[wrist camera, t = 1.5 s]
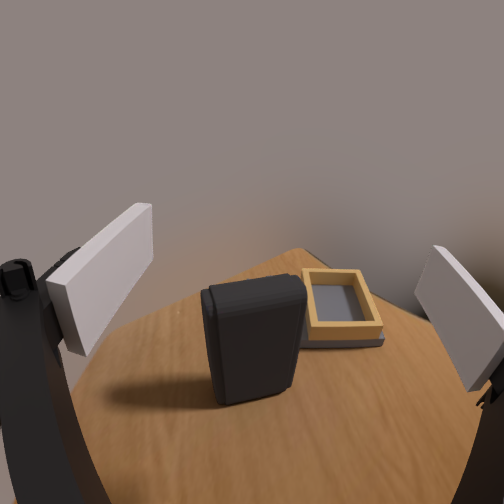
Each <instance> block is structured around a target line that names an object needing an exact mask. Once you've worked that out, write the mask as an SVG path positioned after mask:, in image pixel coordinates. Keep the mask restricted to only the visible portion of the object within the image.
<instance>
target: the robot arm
mask: <svg viewBox="0 0 504 504" xmlns="http://www.w3.org/2000/svg"><path fill="white" fill-rule="evenodd" d="M152 260H153V240H152V204H146V203H135V204H134V205H133V206H131V207H130V208H129V209H127V210H126V211H125V212H124V213H122V214H121V215H120V216H119V217H117V218H116V219H115V220H114V221H112V222H111V223H110V224H109V225H107V226H106V227H105V228H104V229H102V230H101V231H100V232H99V233H98V234H96V235H95V236H94V237H93V238H92V239H90V240H89V241H88V242H87V243H86V244H85V245H83V247H78V248H76V249H74V250H72V251H70V252H68V253H67V254H66V255H64V256H63V257H62V258H61V259H60V261H58V262H56V263H55V264H54V266H53V267H51V268H50V269H49V270H48V271H47V272H45V273H44V274H43V275H42V276H41V277H40V278H39V279H38V280H37V281H36V280H35V276H34V272H33V269H32V265H31V262H30V261H28V260H27V259H14V260H11V261H8V262H6V263H4V264H2V265H1V266H0V295H1V296H0V427H1V428H2V435H3V442H4V448H5V454H6V459H7V464H8V469H9V473H10V478H11V481H12V486H13V489H14V493H15V497H16V500H17V503H18V504H111V502H110V500H109V498H108V496H107V494H106V491H105V489H104V487H103V485H102V483H101V481H100V478H99V476H98V474H97V471H96V469H95V467H94V464H93V462H92V459H91V457H90V454H89V451H88V449H87V446H86V443H85V441H84V438H83V435H82V432H81V429H80V426H79V423H78V420H77V417H76V413H75V410H74V407H73V403H72V400H71V396H70V392H69V388H68V385H67V380H66V376H65V372H64V368H63V363H62V358H61V353H60V350H59V348H58V344H59V343H60V342H61V340H62V339H64V341H65V344H66V346H67V349H68V351H70V352H73V353H76V354H79V355H82V356H85V357H87V356H88V354H89V352H90V351H91V349H92V348H93V346H94V345H95V343H96V341H97V340H98V338H99V337H100V335H101V334H102V332H103V331H104V329H105V327H106V326H107V325H108V323H109V321H110V320H111V319H112V317H113V315H114V314H115V313H116V311H117V310H118V308H119V306H120V305H121V304H122V302H123V301H124V299H125V298H126V296H127V295H128V293H129V292H130V291H131V289H132V288H133V286H134V285H135V284H136V282H137V281H138V279H139V278H140V277H141V275H142V274H143V272H144V271H145V270H146V268H147V267H148V265H149V264H150V262H151V261H152ZM414 294H415V295H416V297H417V299H418V300H419V302H420V304H421V305H422V307H423V309H424V311H425V312H426V314H427V316H428V317H429V319H430V321H431V323H432V325H433V326H434V328H435V330H436V332H437V334H438V335H439V337H440V339H441V341H442V343H443V345H444V347H445V348H446V350H447V352H448V354H449V356H450V358H451V360H452V362H453V364H454V366H455V368H456V370H457V372H458V374H459V376H460V378H461V380H462V383H463V385H464V387H465V389H466V391H467V392H472V391H478V390H480V389H481V388H482V387H483V386H484V384H485V383H486V382H487V381H488V379H489V380H490V382H491V383H492V385H491V386H490V387H489V389H488V390H487V391H486V392H485V394H484V395H483V396H482V397H481V398H480V399H479V401H478V402H477V404H476V406H478V405H479V404H480V403H481V402H484V404H483V405H482V406H481V408H482V409H483V411H482V415H481V419H480V423H479V427H478V430H477V434H476V437H475V441H474V444H473V447H472V450H471V453H470V456H469V459H468V462H467V465H466V468H465V471H464V473H463V476H462V479H461V481H460V484H459V486H458V488H457V491H456V493H455V495H454V498H453V500H452V502H451V504H504V314H503V313H502V312H501V310H500V309H499V308H498V307H497V306H496V304H495V303H494V302H493V301H492V299H491V298H490V297H489V296H488V295H487V293H486V292H485V291H484V290H483V289H482V288H481V286H480V285H479V284H478V283H477V282H476V281H475V280H474V278H473V277H472V276H471V275H470V274H469V273H468V272H467V271H466V270H465V268H464V267H463V266H462V265H461V264H460V263H459V262H458V261H457V260H456V259H455V258H454V257H453V256H452V255H451V254H450V253H449V252H448V251H447V250H446V249H445V248H444V247H440V246H435V245H432V248H431V251H430V254H429V257H428V259H427V262H426V264H425V267H424V270H423V272H422V275H421V277H420V280H419V282H418V285H417V287H416V290H415V292H414Z"/></svg>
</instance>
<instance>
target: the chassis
mask: <svg viewBox="0 0 504 504" xmlns="http://www.w3.org/2000/svg"><path fill="white" fill-rule="evenodd" d="M266 277H269V276H266ZM247 280H250V279H247ZM301 281H302V282H303V283H304V285H305V286H306V289H307V294H308V301H307V308H306V314H305V320H304V326H303V332H302V337H301V343H300V348H346V347H373V346H382V345H383V342H384V340H385V337H384V335H383V332H382V329H383V326H384V325H383V323H382V320H381V318H380V315H379V313H378V311H377V308H376V306H375V304H374V301H373V299H372V297H371V294H370V292H369V290H368V287H367V285H366V283H365V281H364V278H363V276H362V274H361V272H360V270H347V269H346V270H345V269H314V268H302V272H301Z"/></svg>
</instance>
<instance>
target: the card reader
mask: <svg viewBox="0 0 504 504" xmlns="http://www.w3.org/2000/svg"><path fill="white" fill-rule="evenodd" d="M307 301H308V294H307V289H306V286H305V285H304V283H303V282H302V281H301V279H300V278H299V277H298V276H297V275H291V276H290V275H289V274H288V273H287V274H281V275H275V276H269V277H262V278H256V279H250V280H243V281H237V282H230V283H224V284H217V285H211V286H209V289H203V290H201V305H202V315H203V323H204V331H205V339H206V347H207V355H208V361H209V367H210V372H211V378H212V383H213V388H214V392H215V396H216V399H217V402H218V403H219V404H223V403H225V404H226V405H228V404H233V403H238V402H242V401H247V400H251V399H255V398H259V397H264V396H268V395H271V394H275V393H279V392H283V391H285V390H286V388H289V387H291V385H292V381H293V377H294V372H295V368H296V364H297V359H298V354H299V348H300V343H301V337H302V332H303V326H304V320H305V314H306V308H307Z"/></svg>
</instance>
